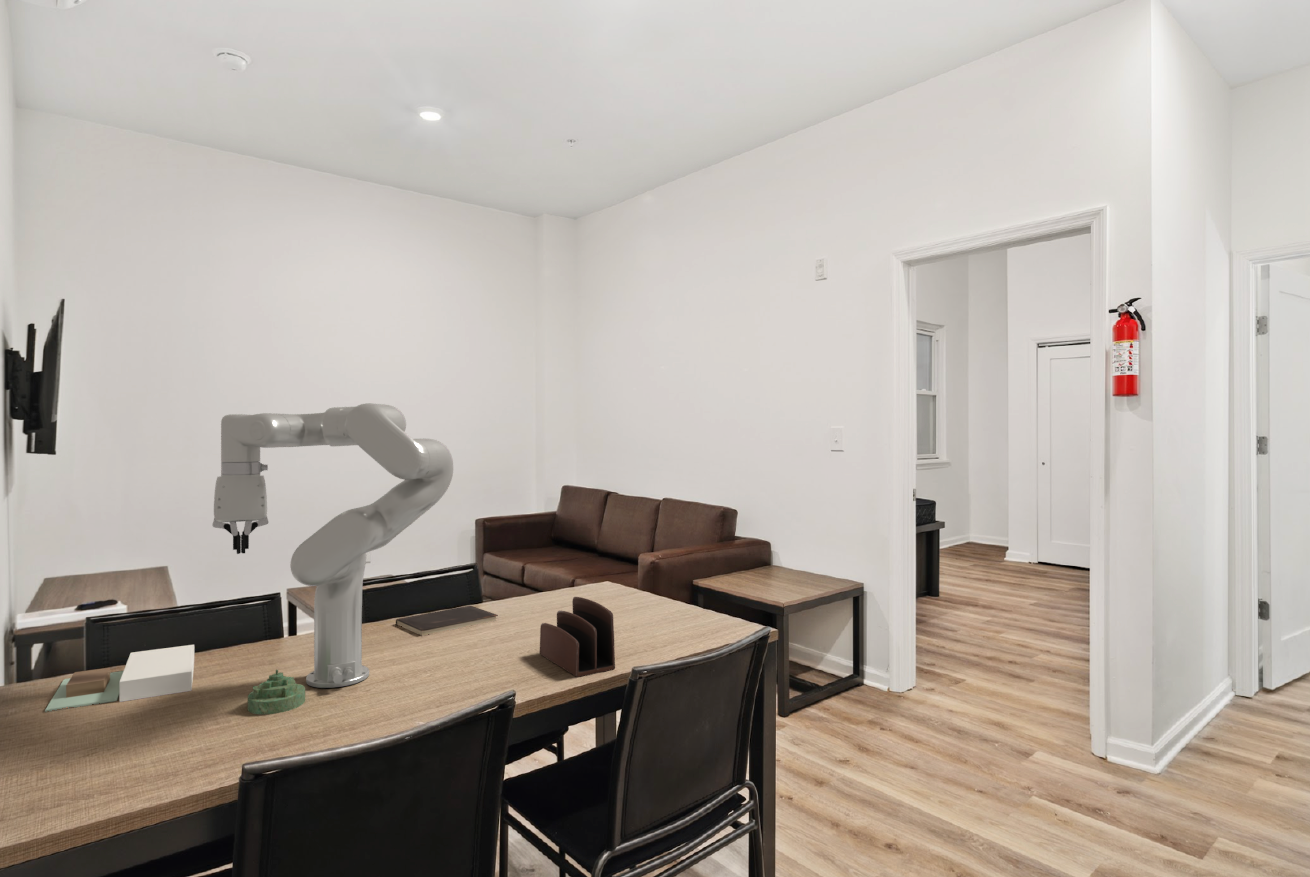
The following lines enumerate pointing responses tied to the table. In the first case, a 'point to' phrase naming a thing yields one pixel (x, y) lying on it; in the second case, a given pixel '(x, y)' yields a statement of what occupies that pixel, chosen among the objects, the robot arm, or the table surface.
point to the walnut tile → (88, 682)
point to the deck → (157, 673)
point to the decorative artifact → (276, 695)
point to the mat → (84, 700)
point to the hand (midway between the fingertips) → (240, 552)
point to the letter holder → (580, 639)
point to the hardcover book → (446, 620)
